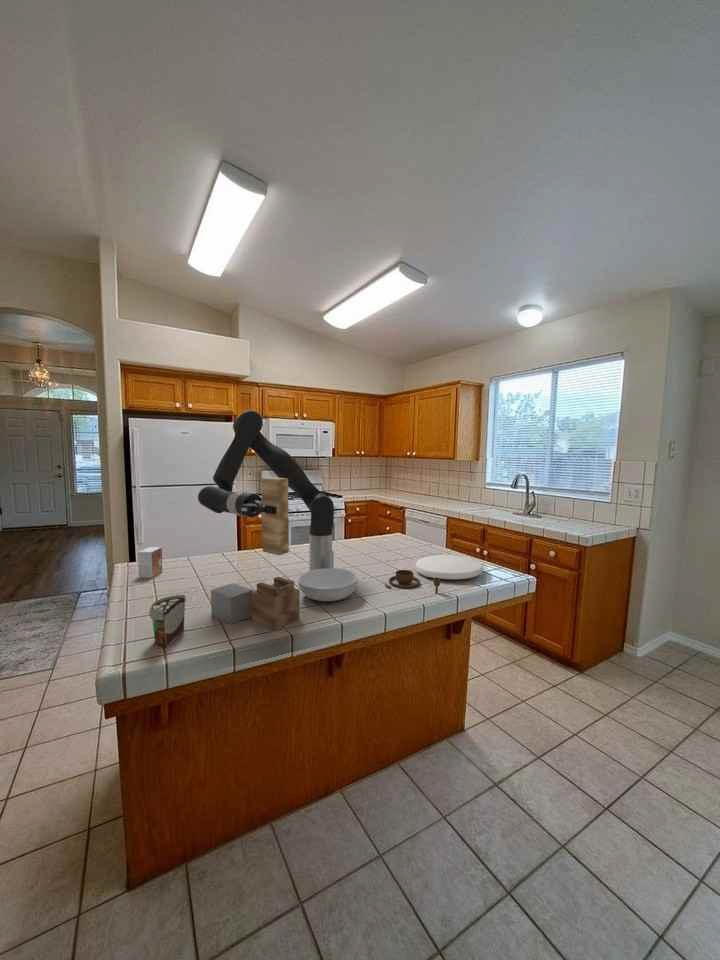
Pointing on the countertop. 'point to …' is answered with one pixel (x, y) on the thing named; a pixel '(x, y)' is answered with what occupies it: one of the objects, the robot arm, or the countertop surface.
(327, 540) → the robot arm
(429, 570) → the plate
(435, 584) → the place setting
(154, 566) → the small box
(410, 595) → the countertop surface
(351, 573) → the serving bowl
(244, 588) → the slate block
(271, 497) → the oak board
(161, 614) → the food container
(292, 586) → the walnut rack
